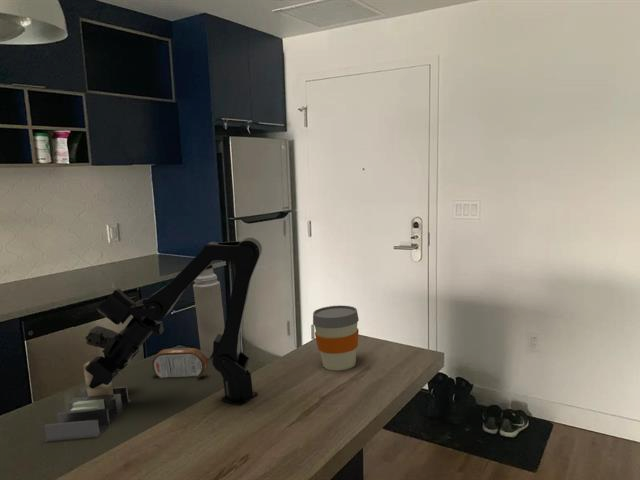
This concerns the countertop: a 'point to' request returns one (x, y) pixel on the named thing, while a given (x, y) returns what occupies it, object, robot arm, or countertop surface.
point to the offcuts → (88, 405)
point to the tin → (179, 363)
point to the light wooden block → (99, 389)
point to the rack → (88, 417)
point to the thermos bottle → (208, 309)
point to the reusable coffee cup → (336, 336)
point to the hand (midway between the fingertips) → (93, 384)
